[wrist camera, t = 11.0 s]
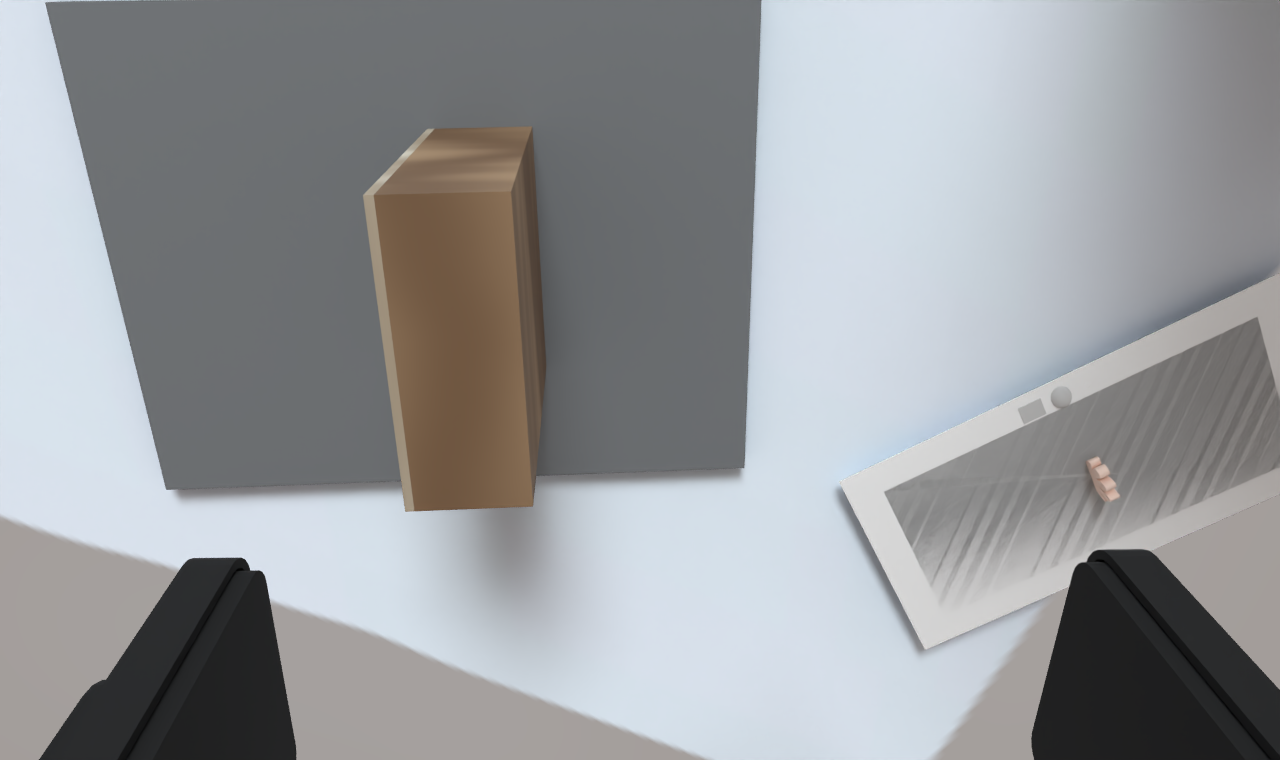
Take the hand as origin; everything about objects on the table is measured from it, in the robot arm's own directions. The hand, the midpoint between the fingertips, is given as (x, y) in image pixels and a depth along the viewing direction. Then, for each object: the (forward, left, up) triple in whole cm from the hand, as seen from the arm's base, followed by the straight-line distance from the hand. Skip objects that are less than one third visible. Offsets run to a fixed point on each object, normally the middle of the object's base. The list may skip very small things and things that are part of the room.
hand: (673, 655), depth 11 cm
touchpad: (-15, +8, -19) cm, 25 cm away
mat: (+5, 0, -18) cm, 19 cm away
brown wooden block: (+4, 0, -17) cm, 18 cm away
